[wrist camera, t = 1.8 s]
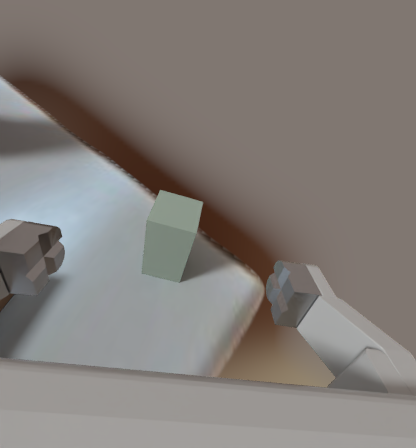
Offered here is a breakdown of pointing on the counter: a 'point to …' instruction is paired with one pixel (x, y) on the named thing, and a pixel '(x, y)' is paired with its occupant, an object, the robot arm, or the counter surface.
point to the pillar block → (170, 235)
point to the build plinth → (5, 300)
